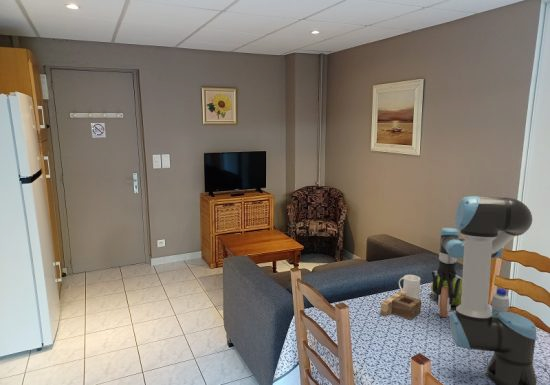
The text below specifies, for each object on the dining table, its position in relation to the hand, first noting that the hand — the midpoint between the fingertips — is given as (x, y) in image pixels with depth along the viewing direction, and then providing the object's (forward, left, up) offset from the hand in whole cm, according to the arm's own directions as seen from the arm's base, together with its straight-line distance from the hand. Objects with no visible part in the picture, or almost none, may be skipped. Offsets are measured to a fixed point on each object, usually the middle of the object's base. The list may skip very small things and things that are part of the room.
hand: (444, 308), depth 186 cm
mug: (+7, +21, -4) cm, 23 cm away
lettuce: (+18, +4, -4) cm, 19 cm away
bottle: (+1, -23, -4) cm, 23 cm away
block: (-10, +14, -4) cm, 18 cm away
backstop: (-10, +21, -4) cm, 23 cm away
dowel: (0, 0, -3) cm, 3 cm away
